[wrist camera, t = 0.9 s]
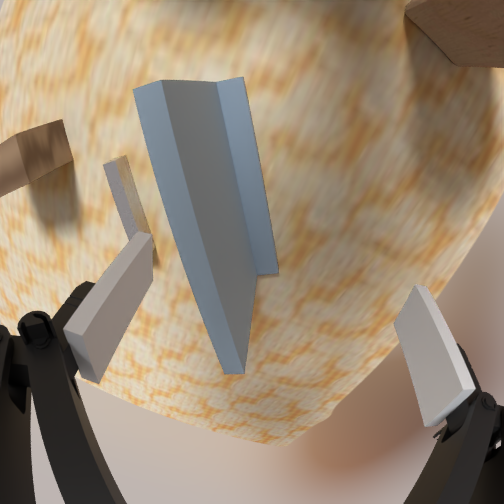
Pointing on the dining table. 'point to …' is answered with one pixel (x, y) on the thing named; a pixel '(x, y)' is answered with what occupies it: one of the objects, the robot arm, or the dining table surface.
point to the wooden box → (32, 155)
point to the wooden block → (463, 29)
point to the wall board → (212, 200)
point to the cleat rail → (126, 197)
